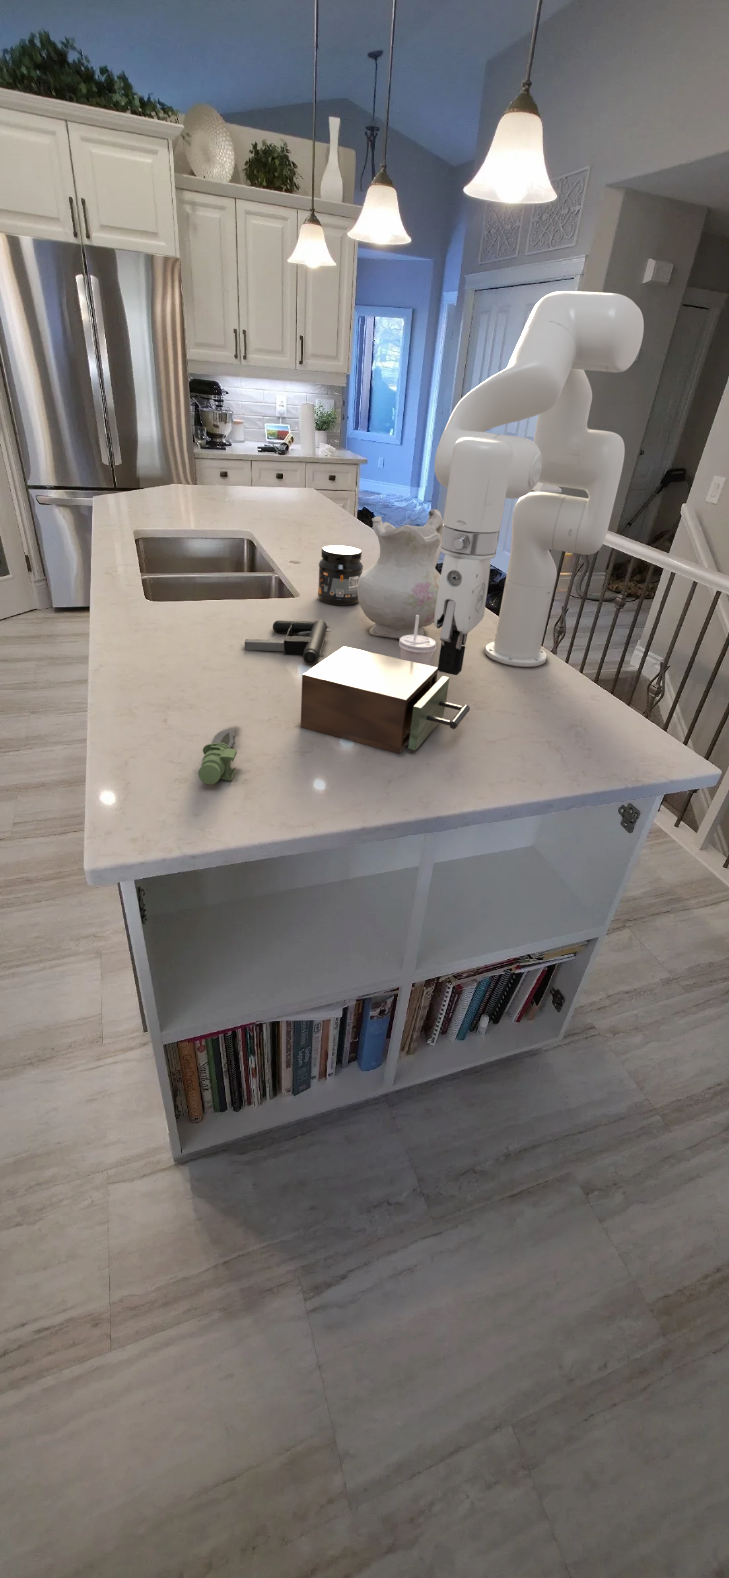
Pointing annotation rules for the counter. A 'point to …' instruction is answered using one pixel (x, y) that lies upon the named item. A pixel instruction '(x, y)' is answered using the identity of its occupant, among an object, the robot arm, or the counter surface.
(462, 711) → the drawer
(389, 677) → the cabinet
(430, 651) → the smoothie
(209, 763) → the knife
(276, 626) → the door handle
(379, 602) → the ceramic pitcher
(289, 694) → the counter surface
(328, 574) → the supplement container
